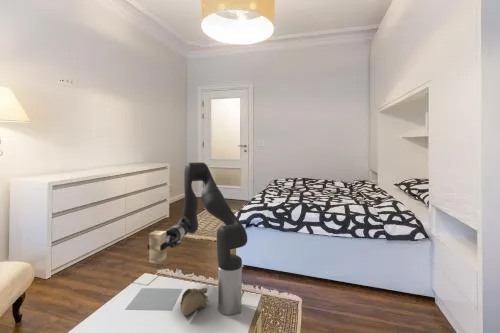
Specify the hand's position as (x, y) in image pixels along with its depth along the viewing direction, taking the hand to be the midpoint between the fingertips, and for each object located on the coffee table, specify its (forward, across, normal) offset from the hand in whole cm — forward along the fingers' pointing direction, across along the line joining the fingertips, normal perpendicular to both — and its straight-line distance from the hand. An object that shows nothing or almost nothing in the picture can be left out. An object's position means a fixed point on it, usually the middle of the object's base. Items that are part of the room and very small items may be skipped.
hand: (154, 247), depth 108 cm
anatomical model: (+3, +18, +22) cm, 29 cm away
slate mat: (0, 0, +22) cm, 22 cm away
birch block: (-3, 0, +6) cm, 7 cm away
